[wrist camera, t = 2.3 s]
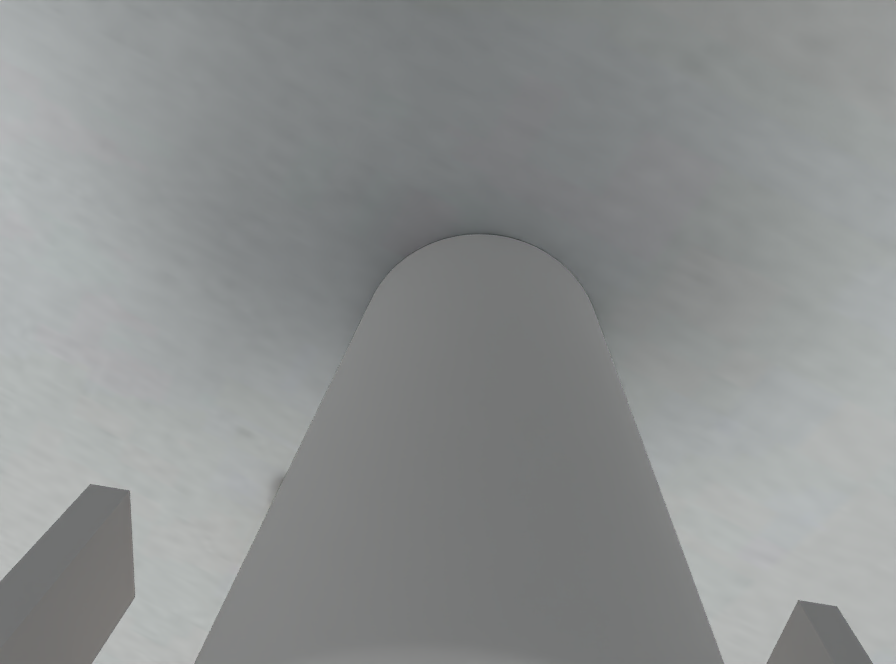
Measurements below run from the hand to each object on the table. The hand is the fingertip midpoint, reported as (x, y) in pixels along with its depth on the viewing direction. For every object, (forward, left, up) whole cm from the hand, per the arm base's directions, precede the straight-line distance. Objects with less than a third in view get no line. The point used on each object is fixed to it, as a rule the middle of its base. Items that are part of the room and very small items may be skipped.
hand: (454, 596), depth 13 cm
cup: (0, 0, -11) cm, 11 cm away
